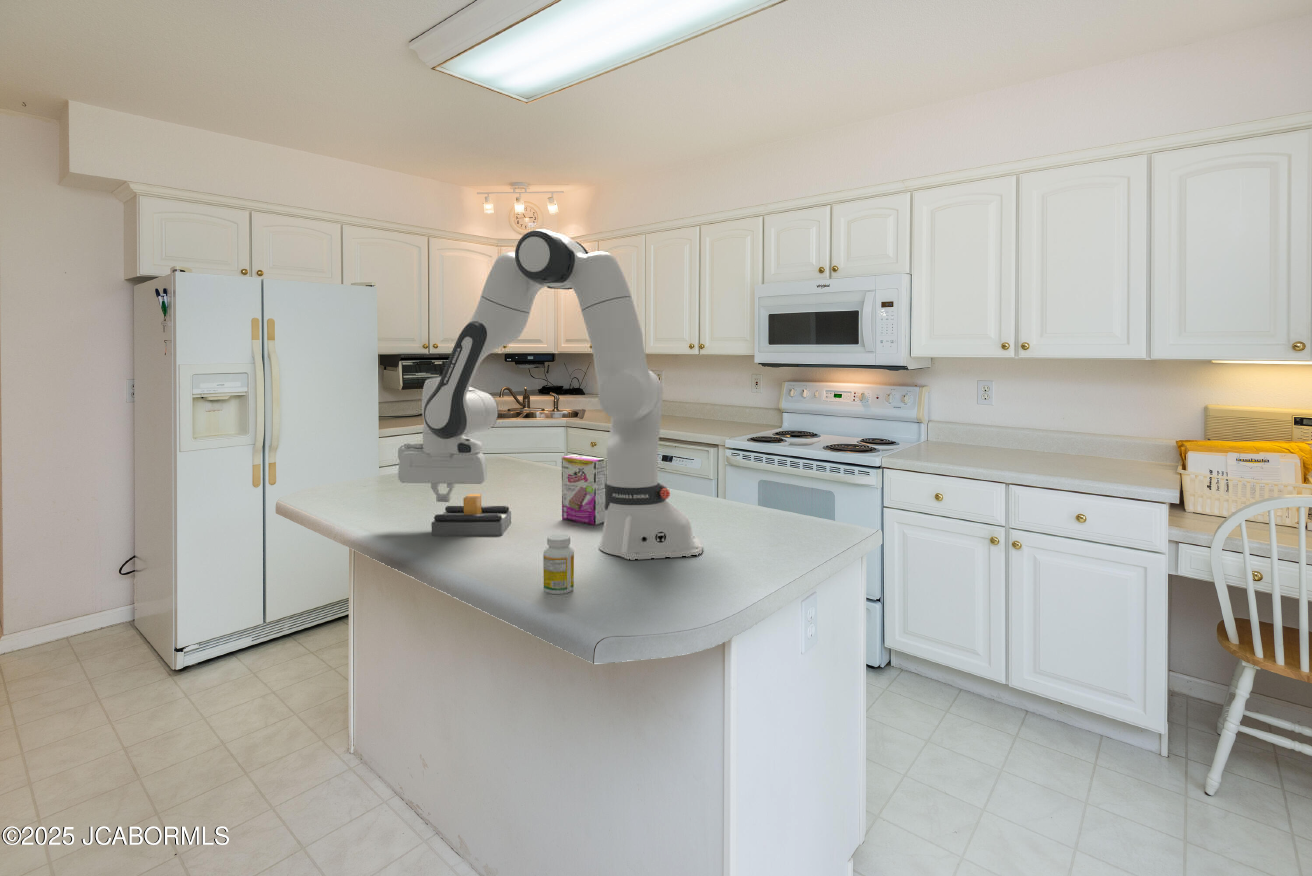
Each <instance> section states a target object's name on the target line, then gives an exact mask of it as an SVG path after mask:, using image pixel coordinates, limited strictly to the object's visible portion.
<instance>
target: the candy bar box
mask: <svg viewBox="0 0 1312 876" xmlns="http://www.w3.org/2000/svg"><path fill="white" fill-rule="evenodd" d="M606 482H607V458H602V457H595V456H587V455H579V454H570V455H563V456H562V457H561V519H562V520H566V521H571V522H576V523H581V524H587V525H592V526H598V525H601V524H604V520H605V507H604V487H605V483H606Z"/></svg>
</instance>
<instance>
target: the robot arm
mask: <svg viewBox="0 0 1312 876" xmlns="http://www.w3.org/2000/svg"><path fill="white" fill-rule="evenodd" d="M544 288H547V289H551V290H552V289H554V290H555V289H556V290H573V292H574V293H575V295H576V298H577V300H578V304H579V308H580V311H581V312H580V313H581V314H582V318H583V322H584V324H585V328H586V331H587V336H588V338H589V343H590V346H591V350H592V356H593V365H594V370H595V377H596V383H597V388H598V402H599V404H600V407H601V409H602V410H603V411H604V413H605V414H607V415H608V416H609V417H610V418H611V421H610V422H611V423H610V428H609V429H610V430H609V436H608V441H607V445H606V459H607V482H606V483H605V487H604V507H605V520H604V523H603V528H602V533H601V536H600V537H601V538H600V541H599V545H598V549H599V550H600V551H602V552H603V553H606V554H610V555H612V556H613V555H614V556H618V557H622V558H623V559H625V560H629V559H630V561H636V560H635V559H638V560H651V558H654V559H666V558H665V557H670V558H682V556H686V557H692V556H691V555H697V554H699V553H700V552H701V553H703V550H702V548H703V543H702V541H701V539H700V538H698V537H696V536H695V535H693V530H692V529H693V528H692V525H691V522H690V520H689V518H688V517H687V515H686V514H684V513H683V512H682V511H680V510H679V509H678V508H676V507H675V506H674V505H673V504H671V503H670V502H669V501H667V499H669V497H670V495H671V492H670V489H668V488H667V486H665V485H664V484H661V483H660V482H659V480H658V479H659V478H658V473H659V466H658V465H659V464H658V463H659V441H660V433H661V425H662V411H663V393H664V392H663V386H662V385H663V384H662V383H661V380H660V379H659V377H658V376H657V375H656V374H655V373H654V372H653V371H651V370H649V368H648V362H647V359H646V353H645V352H646V350H645V346H644V339H643V337H644V336H643V330H642V328H641V325H640V320H639V318H638V314H637V310H636V308H635V307H636V306H635V303H634V300H633V296H632V293H631V291H630V287H629V284H628V282H627V279H626V277H625V274H624V273H623V270H622V268H621V267H620V264H619V262H618V261H617V258H615V256H614V255H612V254H611V253H609V252H606V251H593V252H589V251H588V250H587V249H586V247H584V245H582V244H581V243H579V242H578V241H575V240H573V239H571V238H570V237H568V236H566V234H565V235H564V234H561V233H559V232H553V231H551V230H548V229H534V230H530V231H528V232H526V233H525V234H523V235H522V236H521V237H520V239H519V240H518V242H517V244H516V245H515V250H514V252H510V251H509V252H504V253H501V254H500V255H499V256H498V257H497V258H496V260H495V261H494V263H493V265H492V266H491V269H490V270H489V273H488V275H487V278H486V280H485V283H484V286H483V288H482V290H481V295H480V298H479V300H478V303H477V306H476V308H475V310H474V313H473V315H472V316H471V318H470V319H469V321H468V322H467V324H466V325H465V326H464V328H463V329H462V330H461V332H460V333H459V335H458V336H457V339H456V342H455V344H454V346H453V347H452V350H451V353H450V355H449V358H448V360H447V362H446V365H445V367H444V370H443V372H442V374H441V375H437V376H432V377H429V378H428V379H426V380H425V382H424V385H423V388H422V395H421V396H422V397H421V414H422V417H423V428H422V443H404V444H403V445H401V446H399V447H398V450H397V459H398V461H399V462H398V470H397V472H398V473H397V479H398V481H399V482H400V483H401V484H430V489H431V490H432V492H433V493H434V494H435V496H436V497H435V499H436V500H435V501H436V503H450V502H451V499H452V497H451V496H452V495H451V494H452V492H453V491H454V489H455V488H456V485H462V484H463V485H482V484H483V483H485V482H486V480H487V479H488V470H487V469H488V467H487V462H486V457H485V455H484V453H482V452H481V451H482V449H483V444H482V442H481V441H479V440H475V439H474V438H473V439H472V438H470V437H467V436H464V435H468V434H469V435H470V434H471V435H472V434H475V433H480V432H485V431H487V430H490V429H491V428H493V427H494V425H495V424H496V423H497V421H498V417H499V407H498V403H497V401H496V399H495V398H494V397H493V396H492V394H490V393H488V392H486V391H482V390H480V389H476V388H474V387H472V386H471V385H472V382H473V380H474V377H475V375H476V373H477V370H478V367H479V366H480V364H481V362H482V361H483V360H484V359H486V357H487V356H488V355H490V354H491V353H493V352H494V351H496V350H498V349H501V348H502V347H504V346H507V345H510V344H512V343H514V342H515V341H517V339H519V338H520V337H521V335H522V333H523V332H524V330H525V328H526V327H527V324H528V321H529V317H530V313H531V311H532V308H533V304H534V301H535V299H536V296H537V294H538V292H539V291H541V290H542V289H544ZM441 484H442V485H443V484H446V488H447V489H448V490H447V492H446V493H442V492H441V491H440V489H439V487H440V485H441ZM701 553H700V554H701ZM700 554H699V555H700ZM697 556H698V555H697Z"/></svg>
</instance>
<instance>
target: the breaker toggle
mask: <svg viewBox="0 0 1312 876" xmlns="http://www.w3.org/2000/svg"><path fill="white" fill-rule="evenodd" d="M462 499H463V503H462V504H463V506H464V514H480V513H481V512H482V511H481V506H482V494H480V493H477V494H476V493H473V494H472V493H469V494H466V496H464V497H463V498H462Z"/></svg>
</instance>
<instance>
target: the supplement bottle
mask: <svg viewBox="0 0 1312 876" xmlns="http://www.w3.org/2000/svg"><path fill="white" fill-rule="evenodd" d="M546 540H547V541H546V544H547V546H548V547H546V548H545V549H544V550H543V552H542V553H543V555H542V557H543V558H542V559H543V563H542V564H543V568H542V569H543V576H542V577H543V590H544V592H546V593H547V594H549V593H550V595H565V594H568V593H567V592H569V593H570V592H572V591H573V590H574V587H575V579H574V578H575V576H574V575H575V552H574V549H573V548H572V547H571V546H570V545H571V536H570V535H569V534H567V533H566V534H564V533H553V534H550V535H548V536H547V539H546ZM564 593H565V594H564Z"/></svg>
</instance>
